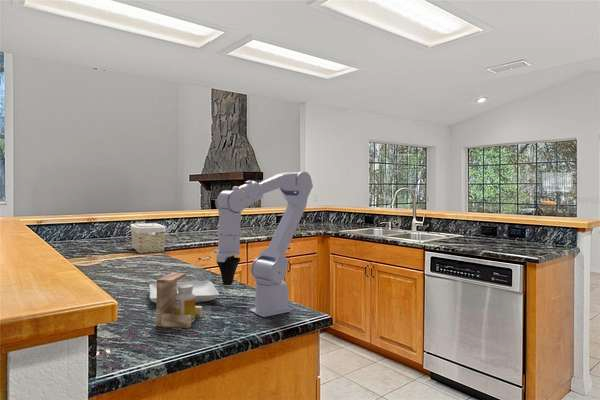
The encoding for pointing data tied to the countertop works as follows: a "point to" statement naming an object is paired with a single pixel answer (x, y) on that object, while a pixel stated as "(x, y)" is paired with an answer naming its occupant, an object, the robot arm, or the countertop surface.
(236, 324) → the countertop surface
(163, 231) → the storage basket
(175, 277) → the socket station
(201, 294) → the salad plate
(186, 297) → the supplement bottle
